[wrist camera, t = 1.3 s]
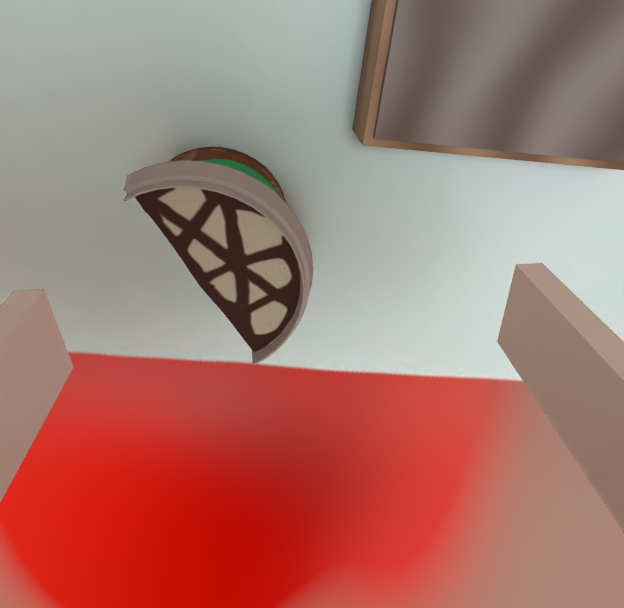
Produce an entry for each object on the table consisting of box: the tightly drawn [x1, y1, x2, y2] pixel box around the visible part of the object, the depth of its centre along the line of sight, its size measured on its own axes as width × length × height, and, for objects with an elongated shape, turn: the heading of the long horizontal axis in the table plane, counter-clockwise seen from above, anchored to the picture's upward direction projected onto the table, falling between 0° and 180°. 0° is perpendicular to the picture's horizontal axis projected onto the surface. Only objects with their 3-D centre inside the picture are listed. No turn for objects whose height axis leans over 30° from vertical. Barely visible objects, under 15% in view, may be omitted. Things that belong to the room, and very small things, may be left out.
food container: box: [124, 147, 313, 365], centre depth 28 cm, size 12×6×10 cm, turn 27°
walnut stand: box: [353, 0, 624, 170], centre depth 25 cm, size 18×14×4 cm
